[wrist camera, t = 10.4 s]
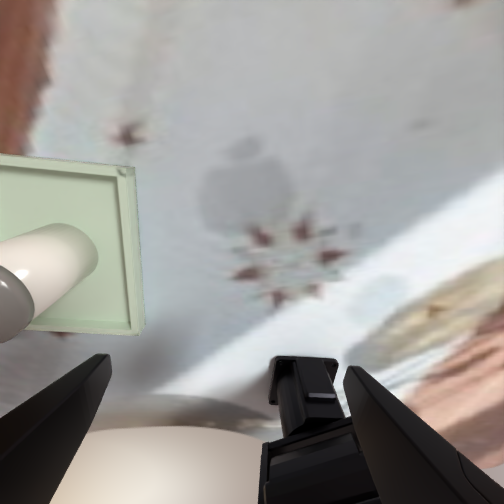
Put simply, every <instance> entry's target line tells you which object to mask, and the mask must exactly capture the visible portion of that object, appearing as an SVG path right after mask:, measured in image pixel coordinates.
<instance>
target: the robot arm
mask: <svg viewBox="0 0 504 504" xmlns="http://www.w3.org/2000/svg"><path fill="white" fill-rule="evenodd" d="M279 361H281V362H279ZM338 366H339V364H338V362H337V360H336V359H329V358H309V357H288V356H279V357H277V358H276V359H275V364H274V370H273V375H272V381H271V387H270V392H269V398H268V399H269V404H271V405H279V412H280V419H281V425H282V432H283V438H282V439H279V440H276V441H273V442H270V443H269V442H266V443H263V444H262V455H261V465H260V480H259V494H258V504H504V488H503V487H501V486H500V485H499V484H498V483H496V482H495V481H494V480H493V479H491V478H490V477H489V476H488V475H487V474H485V473H484V472H483V471H482V470H481V469H479V468H478V467H477V466H476V465H475V464H473V463H472V462H471V461H470V460H469V459H468V458H466V457H465V456H464V455H463V454H462V453H461V452H459V451H456V448H455V447H453V446H452V445H451V444H450V443H449V442H448V441H446V440H445V439H444V438H443V437H442V436H441V435H439V434H438V433H437V432H436V431H435V430H434V429H432V428H431V427H430V426H429V425H428V424H427V423H425V422H424V421H423V420H422V419H421V418H420V417H418V416H417V415H416V414H415V413H414V412H413V411H411V410H410V409H409V408H408V407H407V406H406V405H404V404H403V403H402V402H401V401H400V400H399V399H397V398H396V397H395V396H394V395H393V394H392V393H390V392H389V391H388V390H387V389H386V388H385V387H384V386H382V385H381V384H380V383H379V382H378V381H377V380H375V379H374V378H373V377H372V376H371V375H370V374H368V373H367V372H366V371H365V370H364V369H363V368H361V367H360V366H352V365H350V366H348V368H347V371H346V374H345V377H344V380H343V387H344V391H345V395H346V398H347V402H348V406H349V410H350V413H351V416H349V417H345V415H344V412H343V410H342V407H341V405H340V402H339V400H338V397H337V394H336V391H335V389H334V386H333V382H334V379H335V376H336V373H337V369H338ZM111 375H112V366H111V359H110V355H109V354H95V355H94V356H92V357H91V358H89V359H88V360H86V361H85V362H83V363H82V364H80V365H79V366H77V367H76V368H74V369H73V370H71V371H70V372H68V373H67V374H65V375H64V376H62V377H61V378H59V379H58V380H56V381H55V382H53V383H52V384H50V385H49V386H47V387H46V388H45V389H43V390H42V391H40V392H39V393H37V394H36V395H34V396H33V397H31V398H30V399H28V400H27V401H25V402H24V403H22V404H21V405H19V406H18V407H16V408H15V409H13V410H12V411H10V412H9V413H7V414H6V415H4V416H3V417H1V418H0V504H49V503H50V501H51V499H52V497H53V495H54V494H55V492H56V490H57V488H58V486H59V484H60V482H61V480H62V479H63V477H64V475H65V473H66V471H67V469H68V467H69V465H70V463H71V461H72V460H73V458H74V456H75V454H76V452H77V450H78V448H79V446H80V445H81V443H82V441H83V439H84V437H85V435H86V433H87V431H88V429H89V427H90V425H91V423H92V421H93V419H94V417H95V414H96V412H97V410H98V407H99V405H100V402H101V400H102V398H103V395H104V393H105V390H106V388H107V386H108V383H109V381H110V378H111Z"/></svg>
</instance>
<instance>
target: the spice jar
mask: <svg viewBox="0 0 504 504" xmlns="http://www.w3.org/2000/svg"><path fill="white" fill-rule="evenodd" d="M97 265H98V252H97V249H96V246H95V245H94V243H93V241H92V240H91V239H90V238H89V237H88V236H87V235H86V234H85V233H84V232H83V231H81V230H80V229H78V228H76V227H74V226H71V225H69V224H64V223H52V224H48V225H45V226H42V227H40V228H37V229H34V230H31V231H29V232H26V233H23V234H20V235H18V236H15V237H12V238H9V239H7V240H4V241H1V242H0V343H3V342H6V341H8V340H10V339H12V338H13V337H15V336H16V335H17V334H18V333H20V332H21V331H22V330H23V329H25V328H26V327H27V326H28V325H29V324H30V323H31V321H32V320H33V319H34V318H36V317H37V316H38V315H39V314H41V313H42V312H43V311H44V310H46V309H47V308H48V307H50V306H51V305H52V304H53V303H55V302H56V301H57V300H58V299H60V298H61V297H62V296H64V295H65V294H66V293H67V292H69V291H70V290H71V289H72V288H74V287H75V286H76V285H78V284H79V283H80V282H81V281H83V280H84V279H85V278H86V277H88V276H89V275H90V274H91V273H93V272H94V270H95V269H96V267H97Z"/></svg>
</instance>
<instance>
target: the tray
mask: <svg viewBox="0 0 504 504" xmlns="http://www.w3.org/2000/svg"><path fill="white" fill-rule="evenodd" d="M52 223H64V224H69V225H71V226H74V227H76V228H78V229H80V230H81V231H83V232H84V233H85V234H86V235H87V236H88V237H89V238H90V239H91V240H92V241H93V243H94V245H95V246H96V249H97V252H98V265H97V267H96V269H95V270H94V272H93V273H91V274H90V275H89V276H88V277H86V278H85V279H84V280H83V281H81V282H80V283H79V284H78V285H76V286H75V287H74V288H72V289H71V290H70V291H69V292H67V293H66V294H65V295H64V296H62V297H61V298H60V299H58V300H57V301H56V302H55V303H53V304H52V305H51V306H50V307H48V308H47V309H46V310H44V311H43V312H42V313H41V314H39V315H38V316H37V317H36V318H34V319H33V320H32V321H31V323H30V324H29V325H28V326H27V327H26V328H25V329H23V330H36V331H55V332H74V333H93V334H111V335H130V336H139V335H140V333H141V332H142V330H143V328H144V327H145V312H144V297H143V282H142V268H141V253H140V238H139V223H138V209H137V194H136V179H135V167H127V166H117V165H107V164H98V163H88V162H79V161H69V160H59V159H50V158H40V157H31V156H21V155H11V154H2V153H0V242H1V241H4V240H7V239H9V238H12V237H15V236H18V235H20V234H23V233H26V232H29V231H31V230H34V229H37V228H40V227H42V226H45V225H48V224H52Z"/></svg>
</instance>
